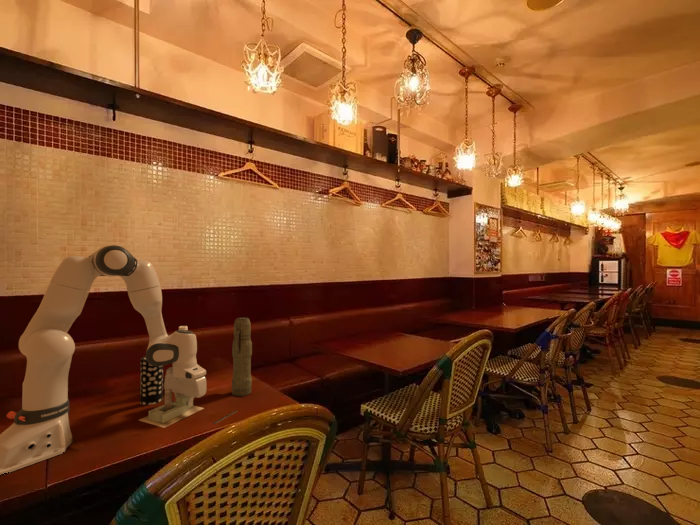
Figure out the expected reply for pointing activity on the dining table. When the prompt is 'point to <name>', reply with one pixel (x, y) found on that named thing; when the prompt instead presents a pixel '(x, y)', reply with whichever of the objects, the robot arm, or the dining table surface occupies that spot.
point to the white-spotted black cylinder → (150, 383)
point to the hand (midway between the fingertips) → (184, 404)
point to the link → (177, 410)
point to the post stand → (167, 407)
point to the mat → (225, 417)
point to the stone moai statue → (242, 357)
